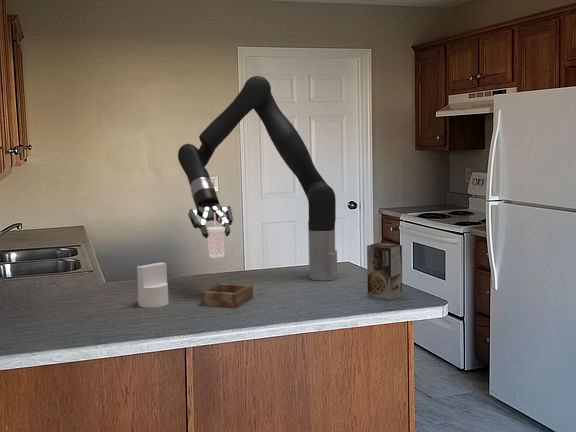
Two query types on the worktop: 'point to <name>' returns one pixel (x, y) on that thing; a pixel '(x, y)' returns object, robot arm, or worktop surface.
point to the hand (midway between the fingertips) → (217, 235)
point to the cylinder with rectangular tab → (152, 285)
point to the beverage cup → (216, 240)
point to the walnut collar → (226, 295)
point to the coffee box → (384, 271)
